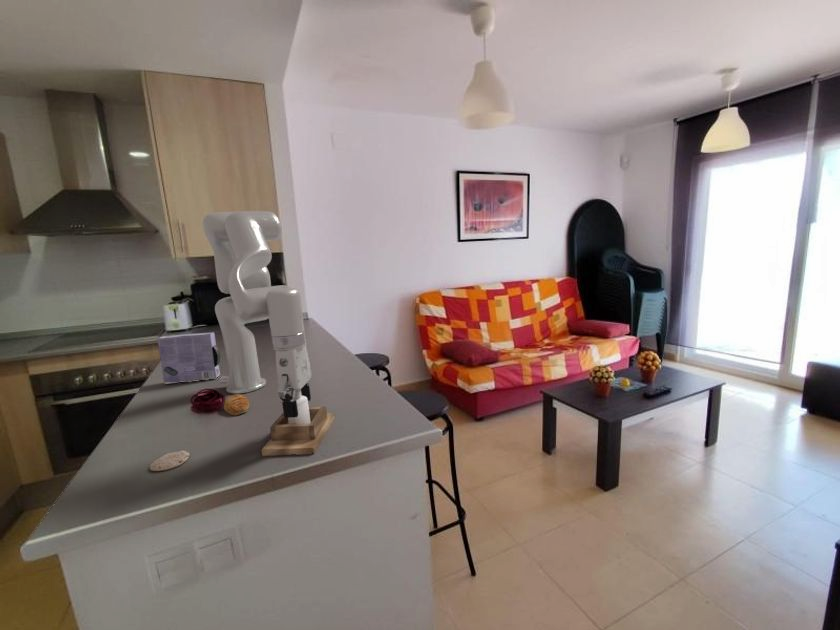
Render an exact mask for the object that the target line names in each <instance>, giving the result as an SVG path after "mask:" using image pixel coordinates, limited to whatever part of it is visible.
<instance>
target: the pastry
mask: <svg viewBox="0 0 840 630" xmlns="http://www.w3.org/2000/svg"><path fill="white" fill-rule="evenodd" d="M249 408H250V400H249V399H248V397H247V396H245V395H243V394H240V393H238V394H233V395H231V396H229V397H227V398H226V400H225V402H224V405H223V409H224V411H225V412H226V413H227V414H229V415H231V416H238V415H241V414H243V413H244V414H245V413H247V411H248V409H249Z"/></svg>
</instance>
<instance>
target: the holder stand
mask: <svg viewBox="0 0 840 630" xmlns="http://www.w3.org/2000/svg"><path fill="white" fill-rule="evenodd" d="M309 413H310V421H311V423H306V424H289V421H288V418H285V417H284V412H282V413H281V414H280V416H278V417H277V418H276V420H274V422H273V423H272V425H270V427H269V431H270V436H271V438H270V439H269V441H267V442H266V444H265V445H264V446H263V447H262V449H261V454H262V457H266V456H267V457H268V456H269V457H270V456H290V455H291V454H296V455H313V454H314V453H315V454H316V452H317V450H318V449H319V447H318V446H320V445H321V443H322V441H323V440H324V438H325V436H326V434H327V432H328V430H329V429H330V428H331V426H332V424H333V422H334V420H335V419H336V418H335V417H336V416H335V415H336V414H335V412H328V411H327V406H311V407H310V406H309ZM322 439H323V440H322ZM312 453H313V454H312ZM291 456H292V455H291Z"/></svg>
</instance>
